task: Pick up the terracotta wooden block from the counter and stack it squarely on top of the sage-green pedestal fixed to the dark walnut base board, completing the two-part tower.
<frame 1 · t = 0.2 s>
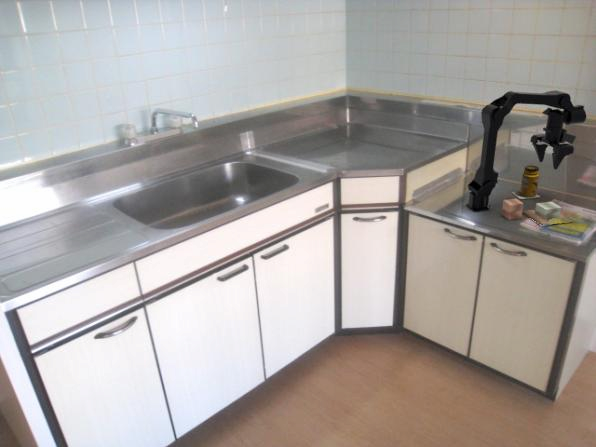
hand: (548, 165, 193), 14 cm above the table, tool pointing down, fingers open, 9 cm apart
condiment: (525, 195, 205), on the table
top block: (511, 216, 188), on the table
blueprint base: (546, 217, 184), on the table
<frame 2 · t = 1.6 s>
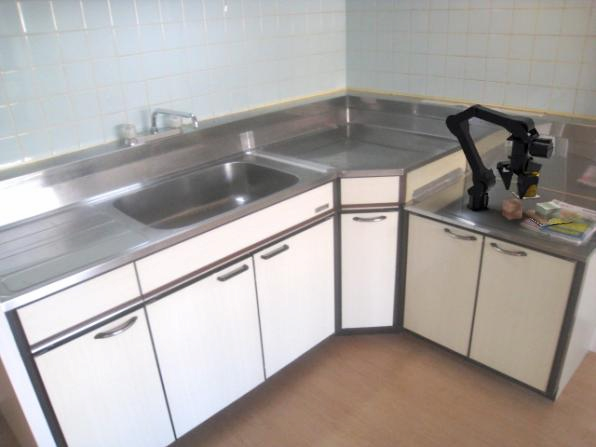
hand: (514, 194, 184), 9 cm above the table, tool pointing down, fingers open, 9 cm apart
nothing on the table moved.
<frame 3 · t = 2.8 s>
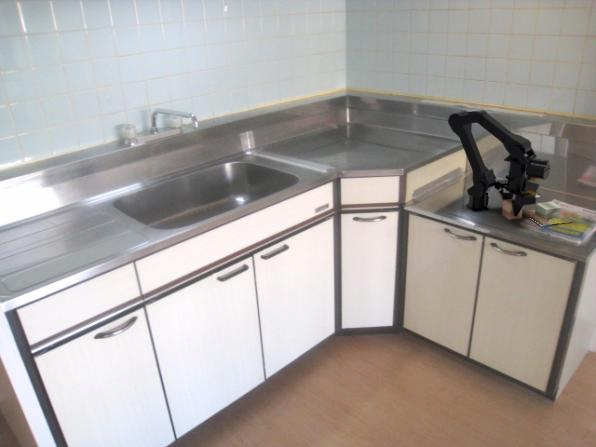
hand: (511, 213, 187), 1 cm above the table, tool pointing down, fingers closed on top block, 5 cm apart
top block: (511, 216, 188), on the table, touching gripper
everything else where it was.
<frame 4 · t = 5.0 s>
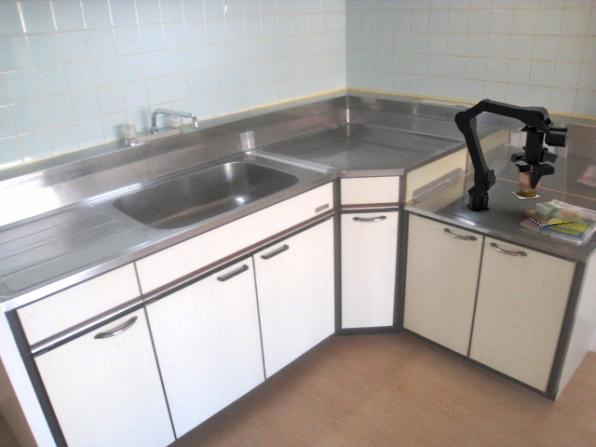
hand: (529, 186, 181), 12 cm above the table, tool pointing down, fingers closed on top block, 5 cm apart
top block: (528, 189, 182), point 11 cm above the table, touching gripper
everything else where it was.
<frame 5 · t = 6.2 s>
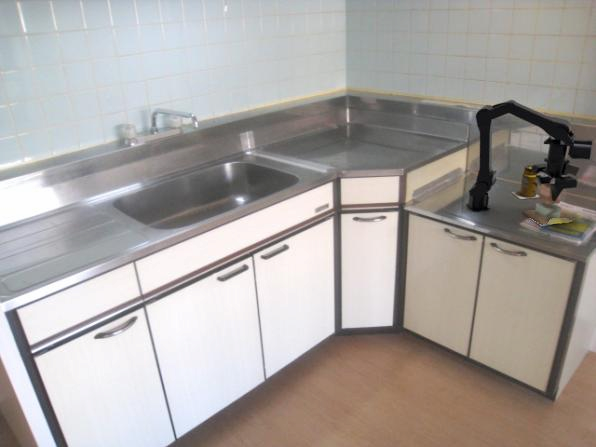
hand: (549, 198, 181), 8 cm above the table, tool pointing down, fingers closed on top block, 5 cm apart
top block: (549, 201, 182), point 7 cm above the table, touching gripper
everything else where it was.
when the fingers open (8 cm above the table, at t = 7.0 s): top block drops 2 cm, resting on blueprint base.
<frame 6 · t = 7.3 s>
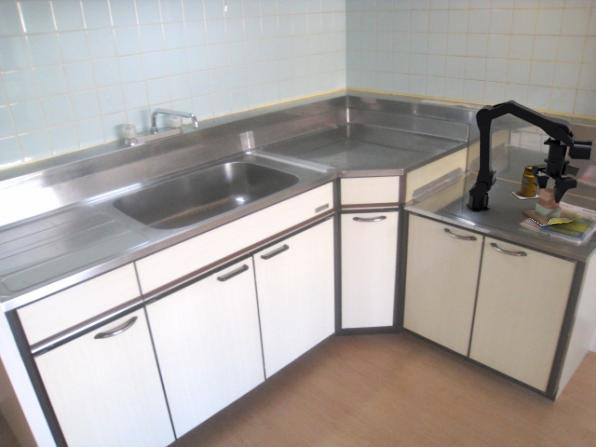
hand: (549, 198, 181), 8 cm above the table, tool pointing down, fingers open, 8 cm apart
top block: (548, 205, 182), point 5 cm above the table, touching blueprint base
everything else where it was.
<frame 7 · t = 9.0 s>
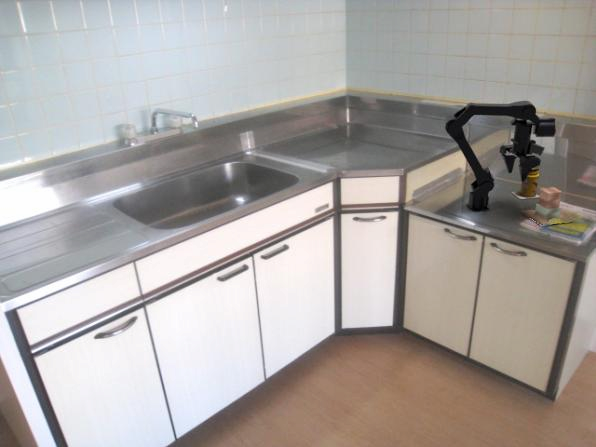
hand: (516, 177, 189), 13 cm above the table, tool pointing down, fingers open, 9 cm apart
nothing on the table moved.
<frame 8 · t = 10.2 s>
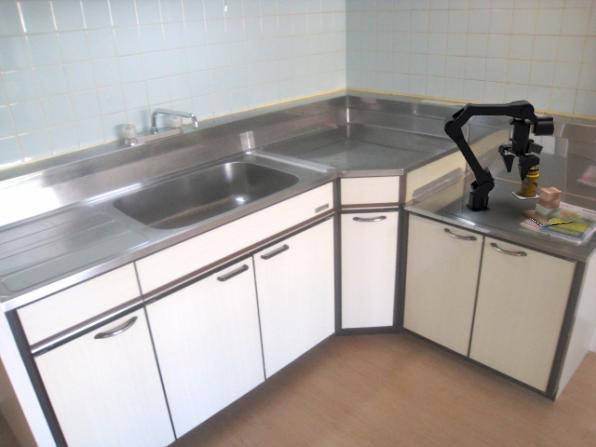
hand: (515, 176, 189), 13 cm above the table, tool pointing down, fingers open, 9 cm apart
nothing on the table moved.
at the end: top block 0.0 cm off-centre on the blueprint base, point 5.0 cm above the blueprint base's base; top block tilted 0°; the gripper is holding nothing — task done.
